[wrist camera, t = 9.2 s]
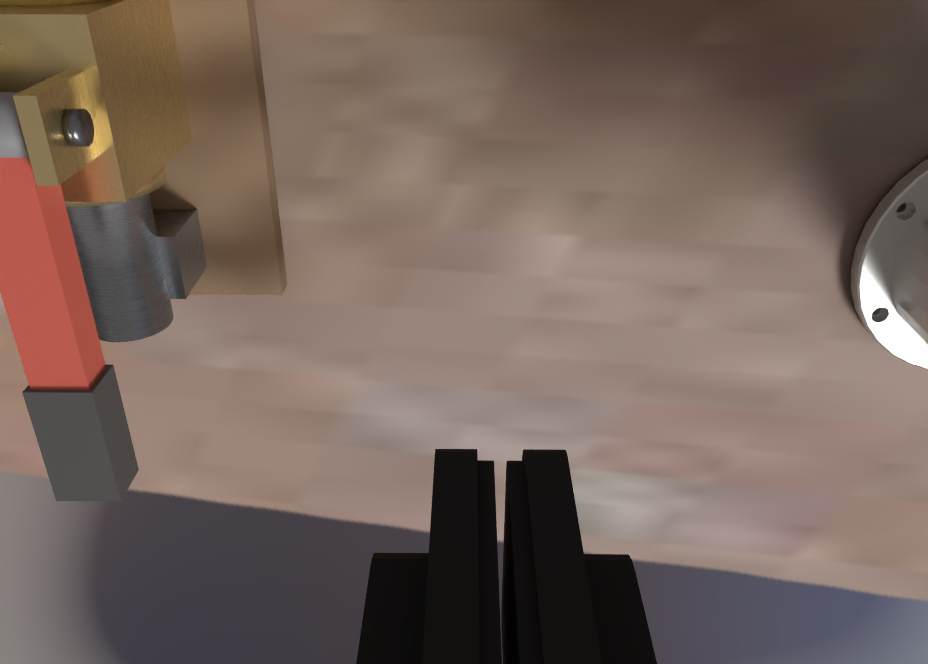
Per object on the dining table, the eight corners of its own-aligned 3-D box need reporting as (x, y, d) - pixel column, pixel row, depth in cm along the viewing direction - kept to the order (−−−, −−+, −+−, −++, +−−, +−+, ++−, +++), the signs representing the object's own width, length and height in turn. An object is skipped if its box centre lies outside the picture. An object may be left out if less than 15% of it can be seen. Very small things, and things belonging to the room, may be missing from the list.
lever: (-32, 85, 27) (-71, 101, 25) (46, 85, 27) (13, 101, 25) (78, 467, 34) (55, 502, 33) (139, 468, 34) (119, 502, 32)
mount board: (-94, -244, 30) (-114, -248, 29) (225, -244, 30) (216, -248, 29) (52, 282, 41) (41, 293, 40) (287, 284, 41) (282, 294, 40)
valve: (-22, -232, 30) (-269, -284, 20) (131, -231, 30) (-41, -284, 20) (103, 284, 40) (-19, 420, 30) (216, 285, 40) (132, 421, 30)
